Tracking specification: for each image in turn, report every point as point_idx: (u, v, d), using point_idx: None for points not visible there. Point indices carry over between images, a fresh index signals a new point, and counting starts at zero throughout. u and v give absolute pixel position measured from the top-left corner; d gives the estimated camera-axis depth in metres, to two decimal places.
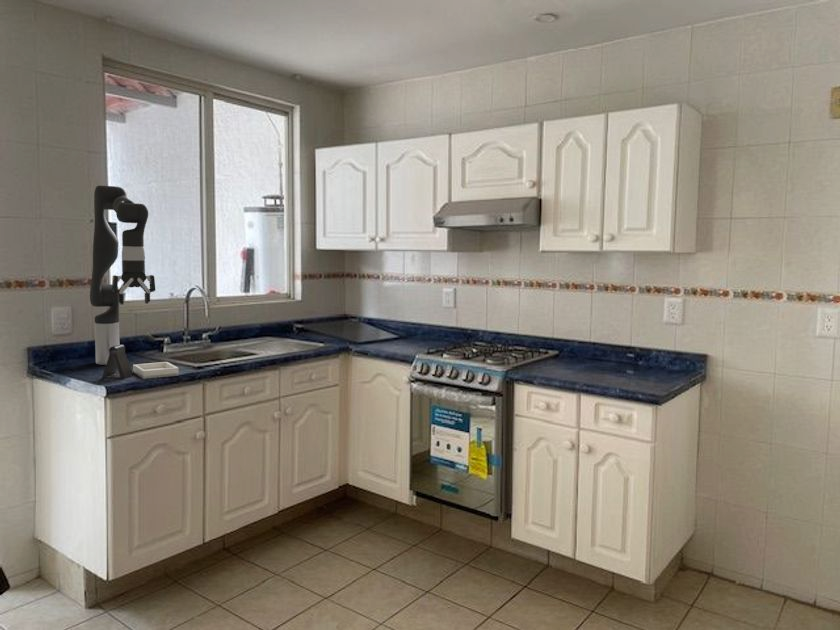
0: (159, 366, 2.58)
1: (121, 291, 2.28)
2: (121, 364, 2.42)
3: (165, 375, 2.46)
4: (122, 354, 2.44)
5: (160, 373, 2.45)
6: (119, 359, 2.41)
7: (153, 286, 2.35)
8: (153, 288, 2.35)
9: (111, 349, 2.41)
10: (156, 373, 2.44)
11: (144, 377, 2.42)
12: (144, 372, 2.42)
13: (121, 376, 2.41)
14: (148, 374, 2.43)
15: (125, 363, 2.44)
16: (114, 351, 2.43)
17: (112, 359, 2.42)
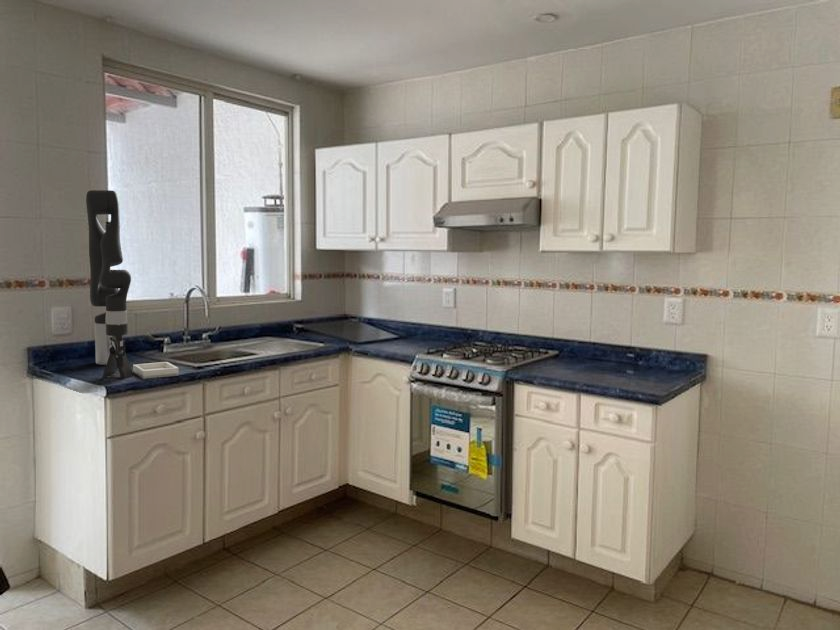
0: (159, 366, 2.58)
1: None
2: None
3: (165, 375, 2.46)
4: None
5: (160, 373, 2.45)
6: None
7: None
8: None
9: (111, 349, 2.41)
10: (156, 373, 2.44)
11: (144, 377, 2.42)
12: (144, 372, 2.42)
13: (121, 376, 2.41)
14: (148, 374, 2.43)
15: (125, 363, 2.44)
16: None
17: (113, 359, 2.42)
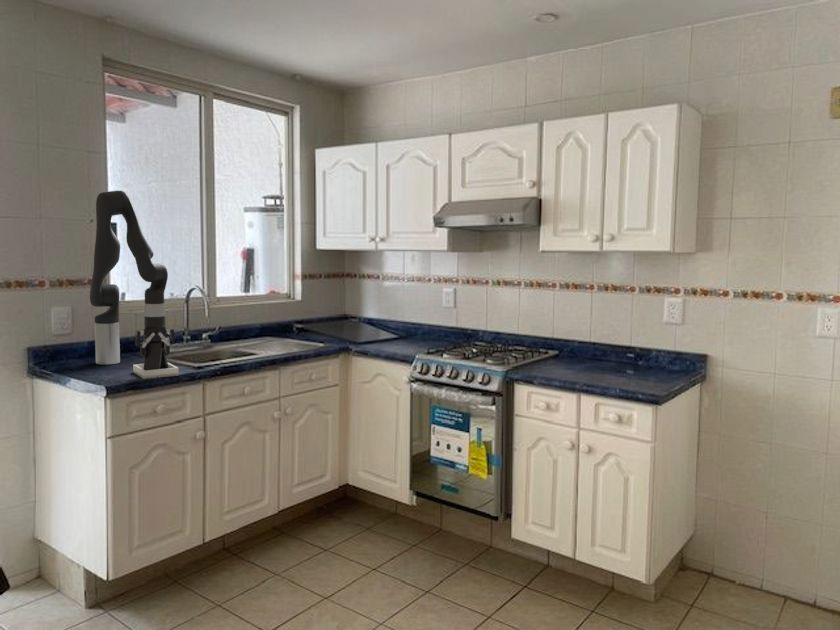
0: None
1: None
2: None
3: (165, 375, 2.46)
4: None
5: (160, 373, 2.45)
6: None
7: None
8: None
9: None
10: (156, 373, 2.44)
11: (144, 377, 2.42)
12: (144, 372, 2.42)
13: None
14: (148, 374, 2.43)
15: None
16: None
17: None
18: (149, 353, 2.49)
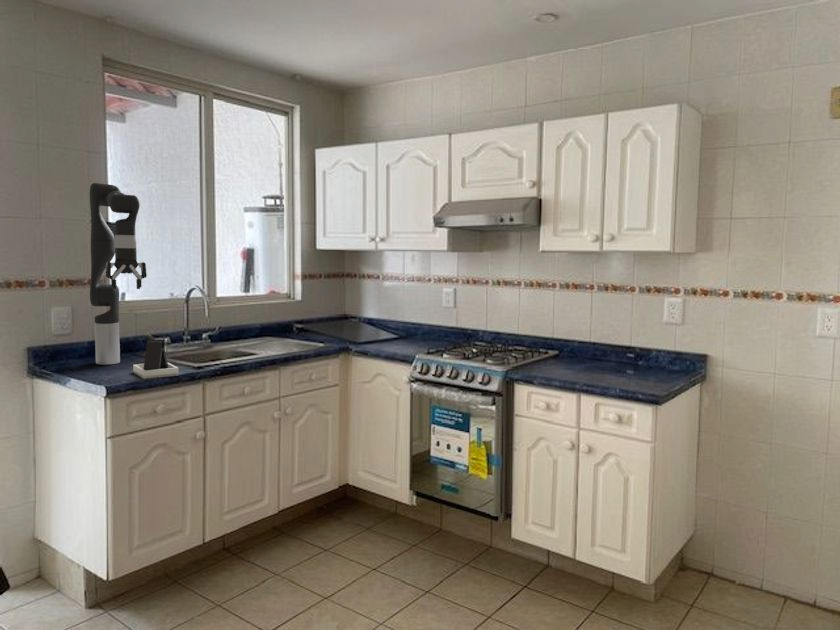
0: None
1: None
2: None
3: (165, 375, 2.46)
4: None
5: (160, 373, 2.45)
6: None
7: None
8: None
9: None
10: (156, 373, 2.44)
11: (144, 377, 2.42)
12: (144, 372, 2.42)
13: None
14: (148, 374, 2.43)
15: None
16: None
17: None
18: (149, 353, 2.49)
